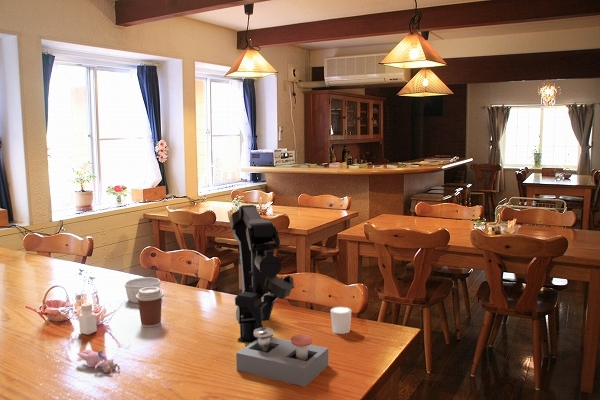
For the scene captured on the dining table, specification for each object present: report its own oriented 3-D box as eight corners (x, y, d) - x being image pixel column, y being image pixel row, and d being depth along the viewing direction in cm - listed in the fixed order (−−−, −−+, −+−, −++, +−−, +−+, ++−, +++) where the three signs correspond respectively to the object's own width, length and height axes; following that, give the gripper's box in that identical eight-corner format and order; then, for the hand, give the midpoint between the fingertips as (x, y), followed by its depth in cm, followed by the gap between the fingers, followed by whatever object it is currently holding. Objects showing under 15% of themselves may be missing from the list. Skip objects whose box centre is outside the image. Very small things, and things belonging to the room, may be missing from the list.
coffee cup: (144, 331, 179) (142, 295, 177) (132, 323, 186) (130, 289, 184) (169, 324, 185) (168, 289, 183) (157, 317, 192) (155, 284, 190)
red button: (287, 360, 146) (287, 340, 145) (297, 352, 151) (297, 333, 150) (306, 364, 143) (305, 344, 143) (315, 356, 148) (315, 336, 147)
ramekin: (146, 291, 222) (145, 275, 221) (168, 297, 214) (167, 280, 213) (118, 300, 211) (117, 283, 210) (140, 307, 203) (139, 288, 202)
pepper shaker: (79, 333, 178) (77, 305, 177) (89, 329, 181) (87, 301, 180) (87, 335, 176) (85, 307, 175) (97, 331, 179) (95, 303, 178)
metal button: (250, 351, 152) (249, 332, 151) (261, 344, 157) (260, 326, 156) (267, 355, 149) (266, 336, 148) (277, 348, 154) (277, 329, 153)
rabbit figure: (124, 373, 152) (88, 354, 159) (125, 353, 151) (89, 335, 158) (106, 382, 147) (69, 362, 154) (107, 362, 145) (70, 342, 153)
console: (236, 370, 149) (236, 352, 149) (264, 351, 162) (263, 335, 161) (304, 386, 139) (304, 368, 139) (328, 365, 152) (328, 348, 151)
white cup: (350, 335, 173) (350, 314, 172) (328, 333, 174) (328, 312, 173) (352, 327, 180) (352, 306, 179) (332, 326, 181) (331, 305, 180)
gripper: (269, 279, 138) (270, 339, 140) (304, 263, 154) (305, 316, 156) (232, 274, 143) (234, 331, 145) (270, 258, 159) (271, 310, 161)
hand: (263, 322), depth 152 cm, fingers open, 4 cm apart
